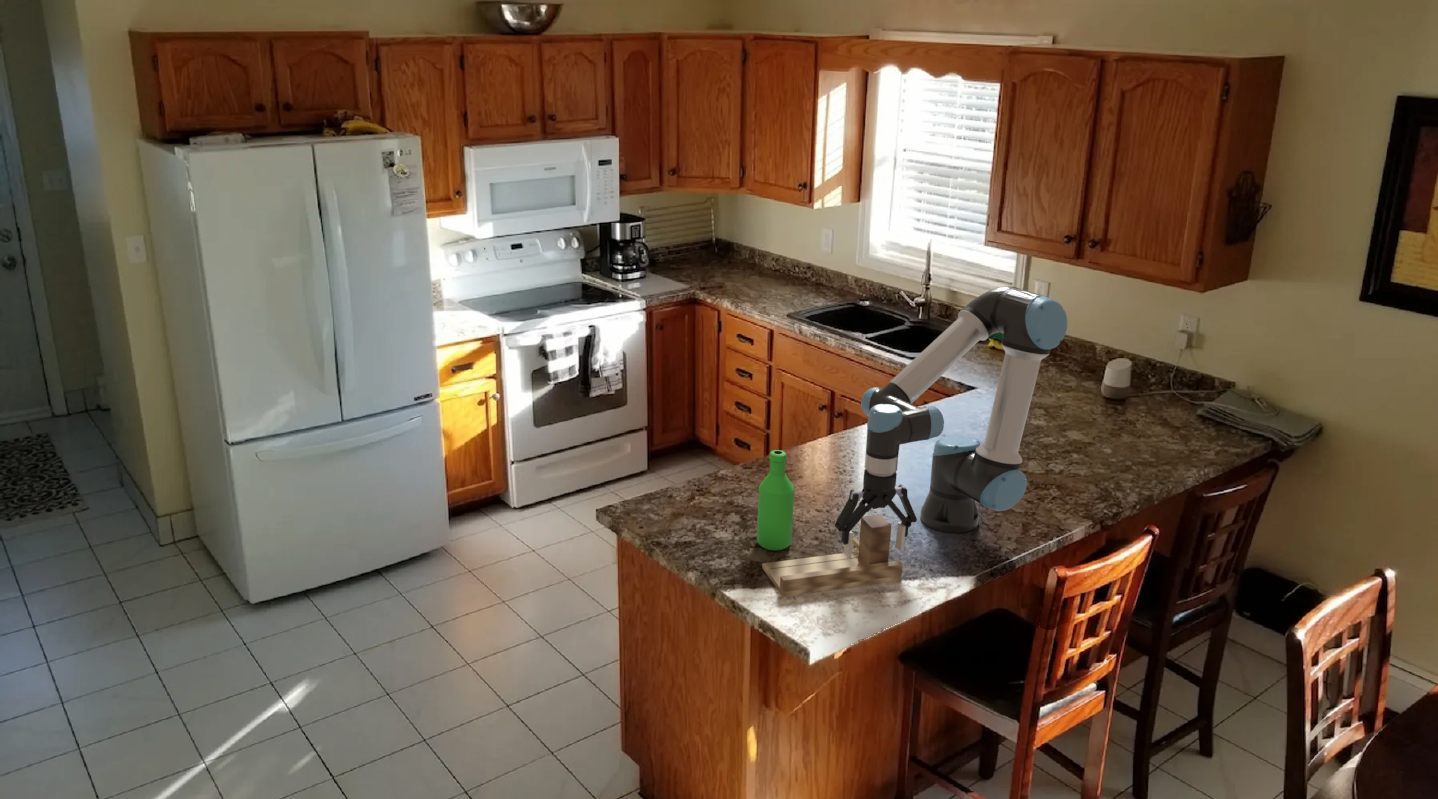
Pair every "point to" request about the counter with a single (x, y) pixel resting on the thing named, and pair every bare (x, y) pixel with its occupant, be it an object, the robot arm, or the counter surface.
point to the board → (816, 568)
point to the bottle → (775, 506)
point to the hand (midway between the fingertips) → (873, 552)
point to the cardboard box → (873, 540)
